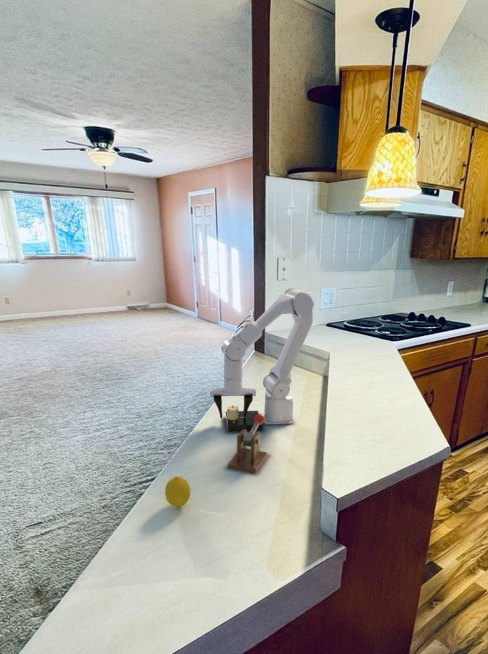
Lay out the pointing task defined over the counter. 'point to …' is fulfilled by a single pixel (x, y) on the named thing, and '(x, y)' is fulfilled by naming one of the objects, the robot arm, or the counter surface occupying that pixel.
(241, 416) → the control panel
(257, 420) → the lever
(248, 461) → the switch bracket
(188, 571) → the counter surface
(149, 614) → the counter surface
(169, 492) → the lemon
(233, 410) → the dial
